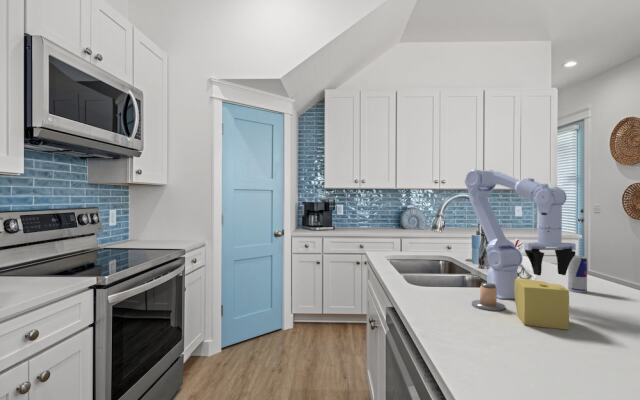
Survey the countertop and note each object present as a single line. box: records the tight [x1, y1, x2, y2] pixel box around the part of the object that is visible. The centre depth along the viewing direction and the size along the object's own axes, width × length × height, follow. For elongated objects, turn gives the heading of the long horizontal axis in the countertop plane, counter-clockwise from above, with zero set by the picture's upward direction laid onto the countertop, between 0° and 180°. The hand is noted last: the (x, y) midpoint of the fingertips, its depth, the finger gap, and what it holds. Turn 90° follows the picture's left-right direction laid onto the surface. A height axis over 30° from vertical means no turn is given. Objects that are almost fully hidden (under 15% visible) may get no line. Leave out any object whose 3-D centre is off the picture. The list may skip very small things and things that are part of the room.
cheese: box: [514, 278, 570, 330], centre depth 92 cm, size 10×11×10 cm
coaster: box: [471, 299, 506, 312], centre depth 105 cm, size 9×9×1 cm
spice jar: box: [479, 282, 498, 307], centre depth 105 cm, size 4×4×6 cm
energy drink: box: [567, 255, 588, 294], centre depth 124 cm, size 5×5×12 cm
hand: (549, 274), depth 103 cm, fingers open, 7 cm apart
